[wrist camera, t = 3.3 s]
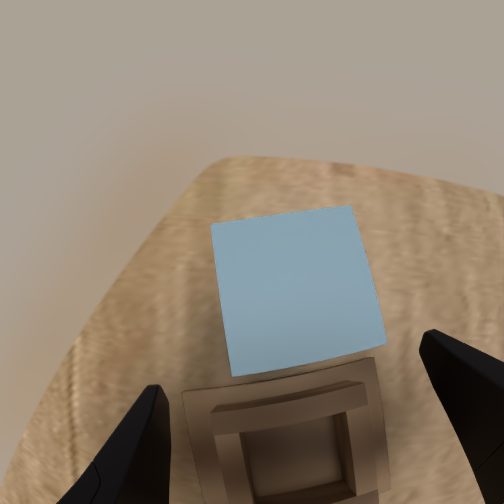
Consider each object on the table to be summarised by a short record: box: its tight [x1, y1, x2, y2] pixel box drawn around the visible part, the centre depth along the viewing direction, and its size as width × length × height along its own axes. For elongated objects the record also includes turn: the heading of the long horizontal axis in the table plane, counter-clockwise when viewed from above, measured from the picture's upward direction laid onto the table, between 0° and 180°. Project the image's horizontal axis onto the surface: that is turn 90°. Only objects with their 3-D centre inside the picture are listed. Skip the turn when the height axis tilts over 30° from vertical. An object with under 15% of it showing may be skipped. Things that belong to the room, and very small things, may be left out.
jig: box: [181, 357, 391, 504], centre depth 14 cm, size 10×12×4 cm
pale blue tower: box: [211, 205, 387, 377], centre depth 13 cm, size 4×4×12 cm
